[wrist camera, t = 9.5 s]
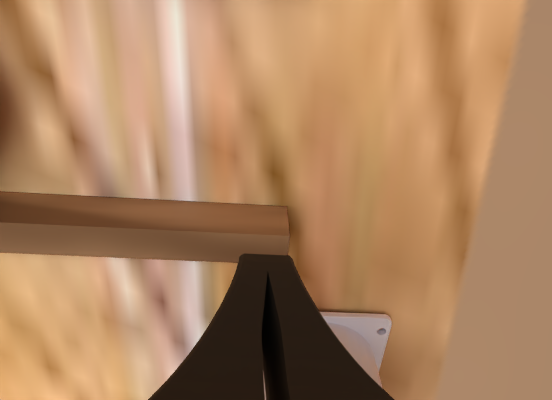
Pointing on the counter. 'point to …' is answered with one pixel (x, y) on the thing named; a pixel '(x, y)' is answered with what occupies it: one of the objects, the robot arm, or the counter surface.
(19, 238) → the chute
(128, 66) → the counter surface
